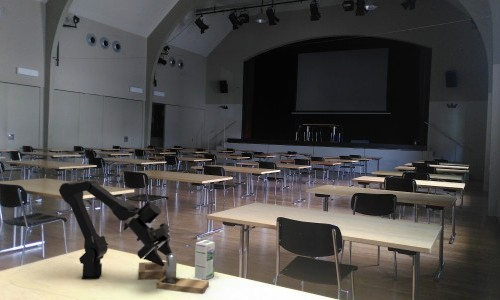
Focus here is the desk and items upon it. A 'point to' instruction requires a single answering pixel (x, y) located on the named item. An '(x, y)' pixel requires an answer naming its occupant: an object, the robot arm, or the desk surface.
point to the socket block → (151, 271)
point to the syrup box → (204, 259)
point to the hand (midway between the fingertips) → (168, 262)
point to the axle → (171, 268)
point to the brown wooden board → (184, 285)
